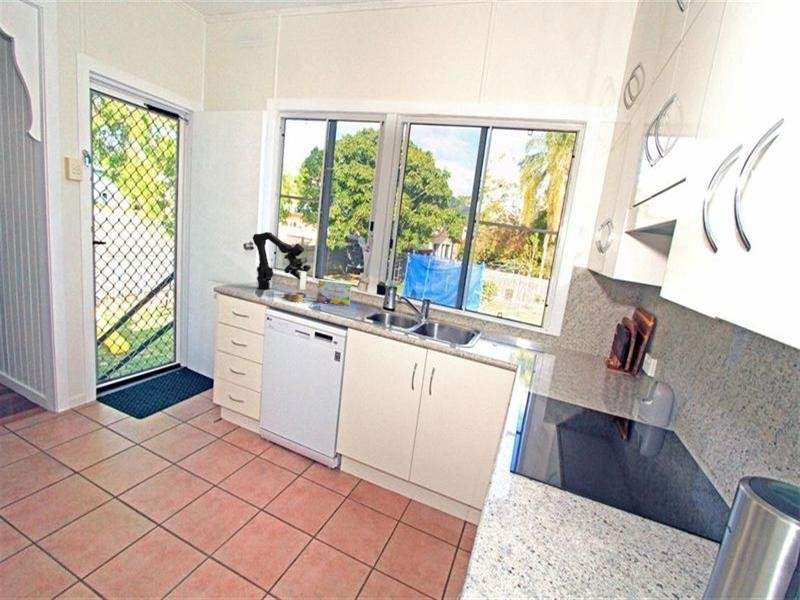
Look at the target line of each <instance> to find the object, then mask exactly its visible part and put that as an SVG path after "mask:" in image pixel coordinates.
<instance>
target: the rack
mask: <svg viewBox="0 0 800 600" xmlns="http://www.w3.org/2000/svg"><path fill="white" fill-rule="evenodd" d="M293 293H294V292H291V293H290V292H289V293H284V294H283V299H285V298H286V299H285V300H288V299H289V297H290V294H293ZM295 293H296V294H300V295H303V298H305V299H307V293H303V292H295Z"/></svg>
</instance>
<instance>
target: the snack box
mask: <svg viewBox="0 0 800 600" xmlns="http://www.w3.org/2000/svg"><path fill="white" fill-rule="evenodd" d="M352 285H353V284H352V282H347V281H339V280H331V279H330V280H329V279H323V278H322V279H318V286H317V294H316V295H317V296H316V297H317V298H316V303H321V302H327V303H326V304H328V303H334V304H333V305H336V304H342V305H341V306H344V305H349V306H350V301H351V295H352V294H351V292H352Z"/></svg>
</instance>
